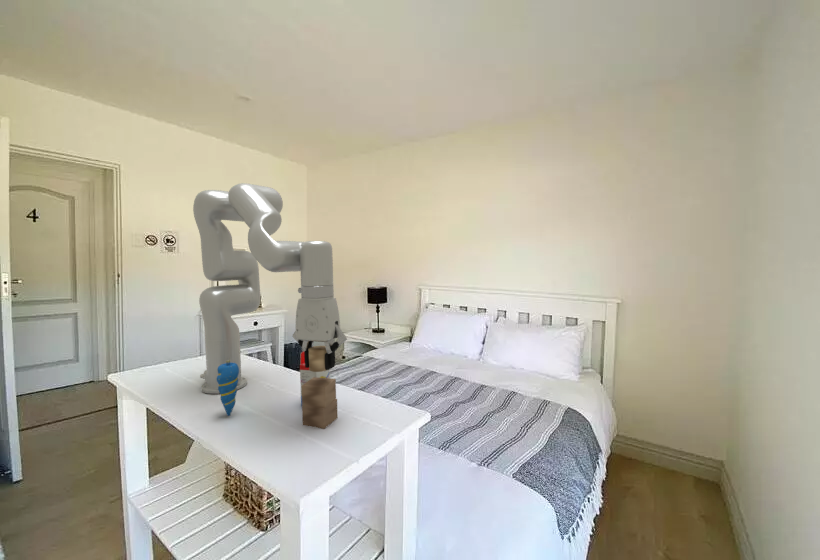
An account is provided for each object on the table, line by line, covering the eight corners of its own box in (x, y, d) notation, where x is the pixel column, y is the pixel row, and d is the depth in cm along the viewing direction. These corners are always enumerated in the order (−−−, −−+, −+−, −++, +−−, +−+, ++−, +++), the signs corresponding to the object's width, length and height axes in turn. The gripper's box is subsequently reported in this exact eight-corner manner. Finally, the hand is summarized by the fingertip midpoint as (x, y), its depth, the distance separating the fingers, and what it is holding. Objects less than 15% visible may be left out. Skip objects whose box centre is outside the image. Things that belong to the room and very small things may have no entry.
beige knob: (304, 370, 86) (304, 350, 85) (317, 364, 90) (316, 345, 90) (322, 372, 84) (322, 351, 84) (334, 366, 89) (333, 346, 88)
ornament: (219, 413, 93) (216, 356, 92) (241, 409, 95) (238, 354, 94) (217, 421, 89) (214, 361, 87) (240, 417, 91) (238, 359, 90)
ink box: (317, 408, 96) (315, 354, 95) (300, 406, 97) (298, 353, 96) (330, 395, 104) (329, 346, 103) (314, 394, 105) (313, 345, 104)
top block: (302, 406, 85) (301, 385, 85) (314, 396, 91) (313, 377, 91) (325, 408, 84) (325, 387, 84) (336, 398, 90) (335, 378, 90)
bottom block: (302, 425, 86) (302, 405, 86) (317, 414, 92) (316, 395, 92) (323, 429, 84) (323, 408, 84) (337, 418, 90) (337, 398, 90)
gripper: (278, 293, 85) (280, 368, 87) (340, 295, 80) (342, 375, 81) (298, 290, 92) (300, 360, 94) (356, 292, 87) (358, 366, 88)
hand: (319, 366), depth 87 cm, fingers closed on beige knob, 5 cm apart
